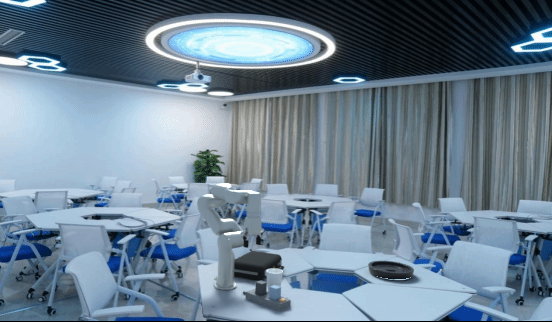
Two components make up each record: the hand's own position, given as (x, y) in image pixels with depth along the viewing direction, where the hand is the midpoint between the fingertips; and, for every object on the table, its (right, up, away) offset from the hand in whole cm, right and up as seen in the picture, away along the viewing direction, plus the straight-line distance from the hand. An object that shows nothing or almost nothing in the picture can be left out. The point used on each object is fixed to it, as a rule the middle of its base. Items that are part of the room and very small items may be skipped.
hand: (252, 246), depth 212 cm
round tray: (+91, -32, +55) cm, 111 cm away
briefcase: (+2, -28, +46) cm, 54 cm away
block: (+12, -28, -8) cm, 31 cm away
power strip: (+6, -29, -3) cm, 29 cm away
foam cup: (+12, -29, +8) cm, 32 cm away
